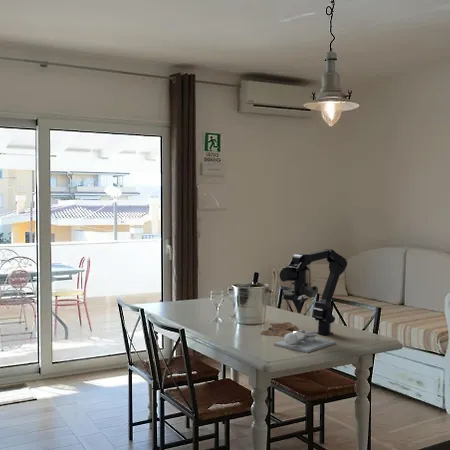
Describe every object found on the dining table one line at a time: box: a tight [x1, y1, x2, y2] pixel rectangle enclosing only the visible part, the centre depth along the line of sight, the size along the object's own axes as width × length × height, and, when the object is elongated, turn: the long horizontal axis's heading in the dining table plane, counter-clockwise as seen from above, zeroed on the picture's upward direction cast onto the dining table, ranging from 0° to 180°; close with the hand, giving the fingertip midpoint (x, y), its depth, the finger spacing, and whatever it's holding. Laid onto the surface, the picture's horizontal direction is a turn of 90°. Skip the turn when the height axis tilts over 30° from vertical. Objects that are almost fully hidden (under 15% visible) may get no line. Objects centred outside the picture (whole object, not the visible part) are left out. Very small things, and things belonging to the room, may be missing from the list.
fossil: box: [260, 322, 301, 338], centre depth 276 cm, size 20×16×5 cm
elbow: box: [292, 329, 318, 343], centre depth 254 cm, size 15×8×5 cm, turn 136°
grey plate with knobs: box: [273, 333, 337, 354], centre depth 253 cm, size 23×18×6 cm
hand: (299, 312), depth 264 cm, fingers closed
